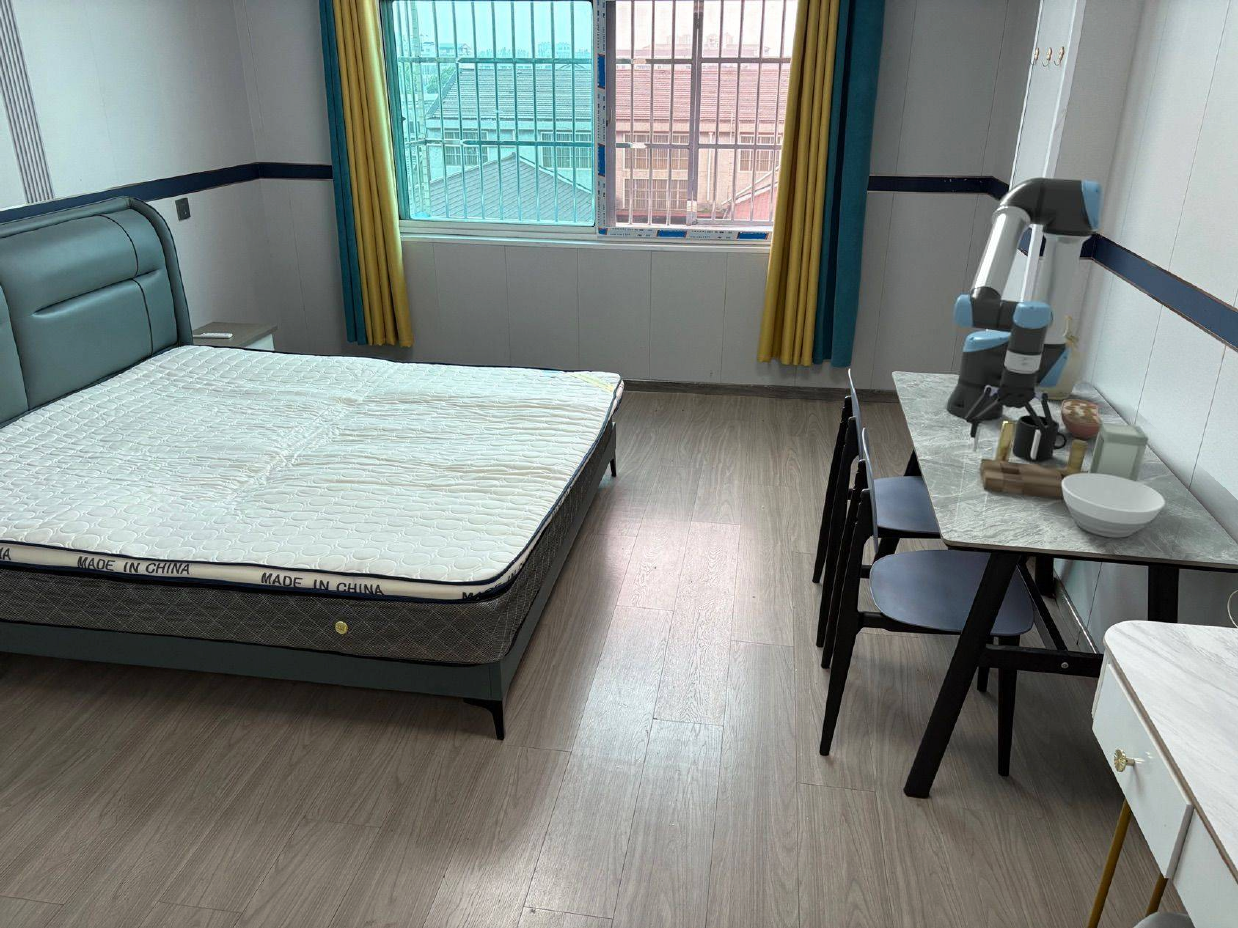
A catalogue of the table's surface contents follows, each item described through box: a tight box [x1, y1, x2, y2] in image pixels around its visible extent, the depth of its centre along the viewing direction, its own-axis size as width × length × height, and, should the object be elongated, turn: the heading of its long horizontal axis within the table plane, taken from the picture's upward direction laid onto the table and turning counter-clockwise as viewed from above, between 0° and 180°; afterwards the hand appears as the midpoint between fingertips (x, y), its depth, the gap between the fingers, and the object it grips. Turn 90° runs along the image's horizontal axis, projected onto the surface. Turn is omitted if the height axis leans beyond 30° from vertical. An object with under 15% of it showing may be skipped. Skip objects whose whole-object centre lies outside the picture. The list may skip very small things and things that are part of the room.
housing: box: [1087, 421, 1149, 482], centre depth 203 cm, size 8×8×13 cm
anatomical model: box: [1060, 398, 1104, 439], centre depth 247 cm, size 23×10×5 cm, turn 158°
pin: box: [994, 419, 1017, 462], centre depth 217 cm, size 3×3×12 cm
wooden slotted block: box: [979, 439, 1089, 501], centre depth 207 cm, size 12×30×12 cm, turn 74°
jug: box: [1034, 313, 1083, 401], centre depth 270 cm, size 15×16×25 cm
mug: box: [1011, 414, 1068, 462], centre depth 226 cm, size 9×12×9 cm
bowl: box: [1062, 473, 1166, 539], centre depth 190 cm, size 20×20×8 cm
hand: (1003, 453), depth 218 cm, fingers open, 13 cm apart
